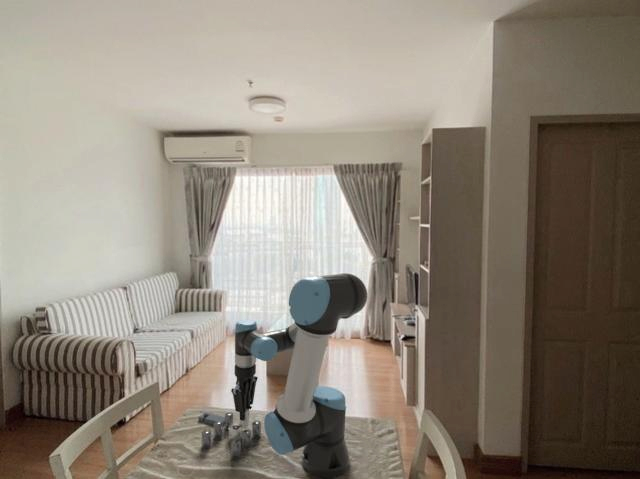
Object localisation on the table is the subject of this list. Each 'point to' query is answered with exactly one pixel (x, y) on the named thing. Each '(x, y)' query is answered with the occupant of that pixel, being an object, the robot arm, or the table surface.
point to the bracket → (211, 418)
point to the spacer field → (235, 443)
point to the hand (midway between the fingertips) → (244, 426)
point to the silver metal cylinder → (235, 432)
